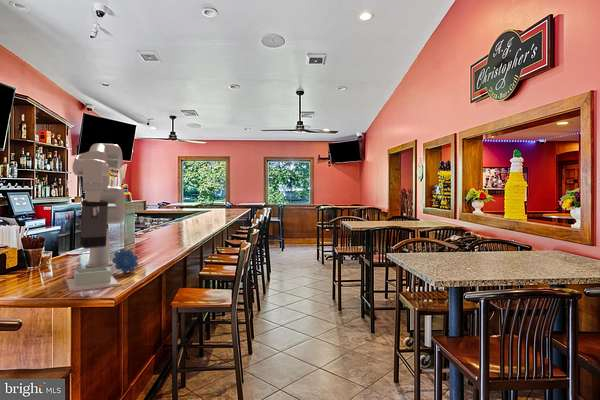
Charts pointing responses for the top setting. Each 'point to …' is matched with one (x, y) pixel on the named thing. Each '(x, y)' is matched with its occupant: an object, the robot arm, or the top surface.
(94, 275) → the dock
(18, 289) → the top surface
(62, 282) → the top surface
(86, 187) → the robot arm
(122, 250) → the grapes
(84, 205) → the electronic device
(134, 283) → the top surface
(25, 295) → the top surface
